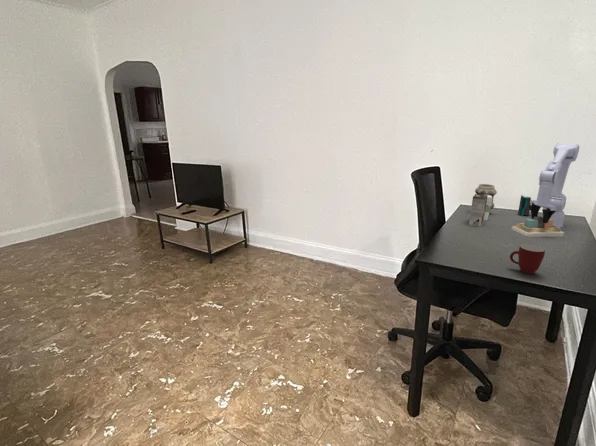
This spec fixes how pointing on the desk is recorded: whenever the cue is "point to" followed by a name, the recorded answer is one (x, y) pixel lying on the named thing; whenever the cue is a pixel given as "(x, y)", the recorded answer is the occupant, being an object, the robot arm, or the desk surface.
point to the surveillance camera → (524, 206)
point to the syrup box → (488, 207)
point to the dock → (538, 233)
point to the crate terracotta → (548, 224)
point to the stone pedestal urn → (486, 191)
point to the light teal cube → (531, 223)
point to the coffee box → (478, 209)
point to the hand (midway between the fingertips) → (539, 220)
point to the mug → (529, 258)
